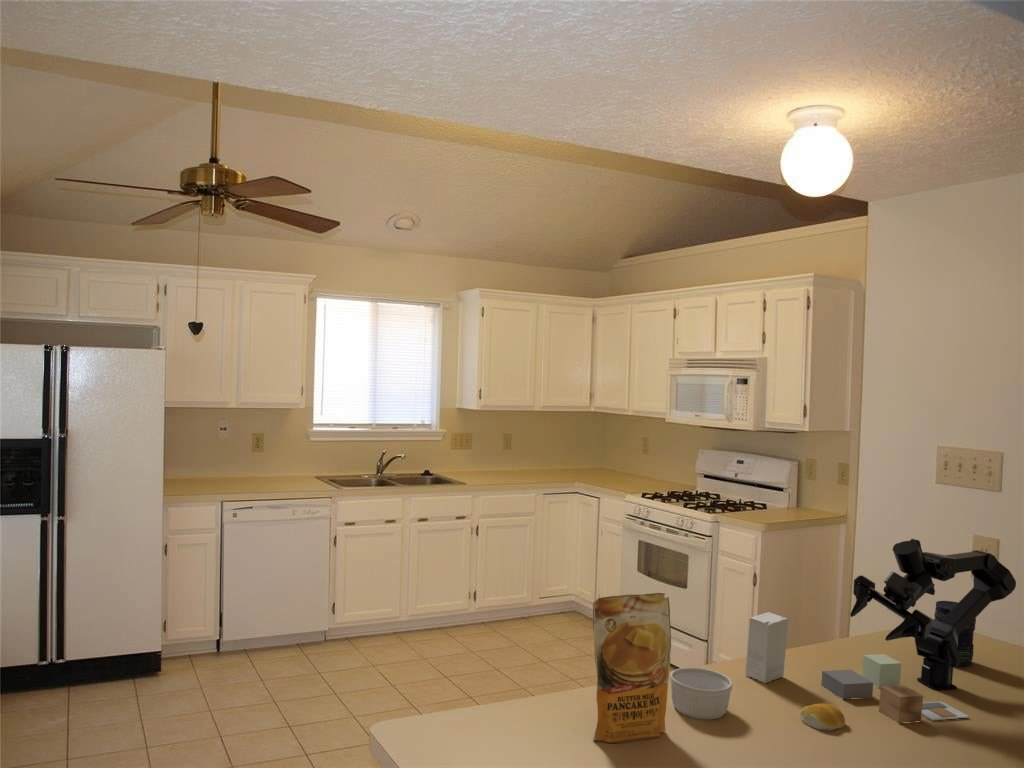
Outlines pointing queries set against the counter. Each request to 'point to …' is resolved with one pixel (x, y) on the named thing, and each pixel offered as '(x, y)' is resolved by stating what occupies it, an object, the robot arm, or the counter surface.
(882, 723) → the counter surface
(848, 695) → the charcoal block
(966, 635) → the storage jar
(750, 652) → the skincare box
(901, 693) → the walnut cube
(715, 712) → the ramekin
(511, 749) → the counter surface
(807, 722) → the bread roll
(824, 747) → the counter surface
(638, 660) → the pancake mix bag
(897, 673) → the sage cube
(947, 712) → the card
